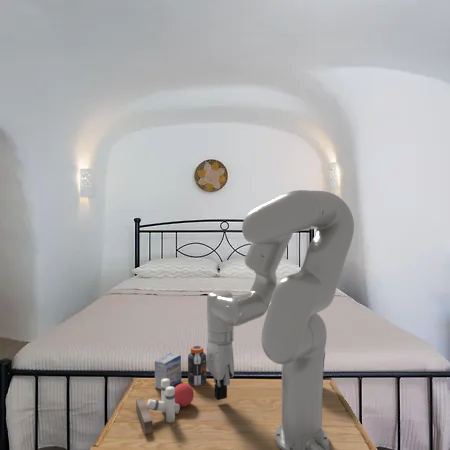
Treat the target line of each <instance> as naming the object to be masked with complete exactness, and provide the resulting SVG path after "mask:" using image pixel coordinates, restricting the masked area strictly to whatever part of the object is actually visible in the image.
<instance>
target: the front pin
mask: <svg viewBox="0 0 450 450" xmlns="http://www.w3.org/2000/svg"><path fill="white" fill-rule="evenodd" d="M146 406H147V409H148V410H149V411H150V410H151V411H157V412H162V411H163V412H166V402H164V401H161V400H158V399H151V398H149V399H148V400H147V403H146ZM180 408H181V406H180V405H179V404H176V403H175V415H176V414H179V412H180ZM163 412H162V413H163Z"/></svg>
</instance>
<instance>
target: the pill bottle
mask: <svg viewBox="0 0 450 450" xmlns="http://www.w3.org/2000/svg"><path fill="white" fill-rule="evenodd" d="M206 361H207V353H205V352H204V346H202V345H193V346H191V347H190V352H189V354H188V356H187V382H188V384H189V385H190V386H191V385H192V386H202V385H204V384H205V383H206V382H207V366H206Z"/></svg>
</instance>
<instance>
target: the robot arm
mask: <svg viewBox="0 0 450 450" xmlns="http://www.w3.org/2000/svg"><path fill="white" fill-rule="evenodd" d="M241 226H242V229H241V231H242V234H243V235H242V236H243V237H244V239H245V240H246V241H247V242H248V243H249V244H250V246H249V248H248V250H247V252H246V255H245V258H244V263H245V266H246V267H247V268H248V270H250V271H251V272H253V273H254V274H255V279H254V282H253V284H252V286H251V288H250V290H249V292H245V293H242V294H239V295H235V296H234V295H233V294H232V292H230V291H227V290H213V291H211V292H209V293H208V294H207V297H206V311H207V312H206V322H207V323H206V324H207V325H206V326H207V327H206V329H207V330H206V331H207V332H206V334H207V335H206V338H207V339H206V341H207V343H206V370H207V372H209V373H210V374H211V376H212V377H213V382H214V398H215V399H216V400H217V401H220V400H224V399H227V397H228V386H230V385H231V379H232V378H233V377H234V375H235V374H234V373H235V371H234V370H235V365H234V362H235V361H234V348H233V342H234V340H235V337H234V335H235V334H234V333H235V331H234V327H238V326H242V325H244V324H247V323H249V322H252V321H255V320H257V319H260V318H262V317H263V316H264V315H265V314H266V315H265V319H264V322H263V327H262V330H261V338H260V339H261V340H260V341H261V346H262V349H263V352H264V354H265V356H266V357H267V358H268V359H269V360H270V361H272V362H273V363H275V364H278V365H282V366H281V425H280V426H279V427H277V429H276V431H275V433H274V440H275V441H274V442H275V443H276V445H277V446H278V448H280V450H330V449H331V447H330V442H329V440H330V439H329V436H328V435H327V433H326V432H325V431H324V430H323V388H322V381H323V382H324V380H323V379H324V378H323V377H324V369H323V358H324V351H325V352H326V345H327V337H328V336H327V326H326V323H325V321H324V320H323V318H322V317H321V315H320V314H318V313H320V312H322V311H324V310H326V309H327V308H328V307H330V306H331V305H332V303H333V300H334V298H335V295H336V293H337V287H338V285H339V281H340V278H341V276H342V273H343V269H344V265H345V263H346V259H347V256H348V253H349V251H350V247H351V245H352V244H351V243H352V240H353V237H354V230H355V221H354V217H353V214H352V211H351V209H350V207H349V205H348V204H347V203H346V202H345V201H344V200H343V199H342V198H341V197H339V196H338V195H336V194H334V193H332V192H329V191H325V190H309V189H308V190H306V189H304V190H303V189H300V190H293V191H292V190H291V191H289V192H287V193H284V194H282V195H279V196H277V197H276V198H274V199H272V200H270V201H268V202H265V203H263V204H261V205H259V206H257V207H255V208H254V209H252V210H250V211H249V212H248V213H247V214H246V216H245V218H244V219H243V223H242V225H241ZM305 230H306V231H307V230H316V231H315V234H314V237H313V238H312V239H311V241H310V243H309V245H308V247H307V249H306V253H305V257H304V261H303V263H302V266H301V267H300V268H301V269H300V270H299V271H298V272H296V273H292V274H288V275H287V276H285V277H283V278H281V280H279V282H278V283H277V280H278V279H277V274H276V273H277V269H278V267H279V265H280V263H281V260H282V258H283V256H284V254H285V252H286V250H287V248H288V245H289V244H290V241H291V239H292V237H293V234H294V233H297V232H301V231H305Z"/></svg>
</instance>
